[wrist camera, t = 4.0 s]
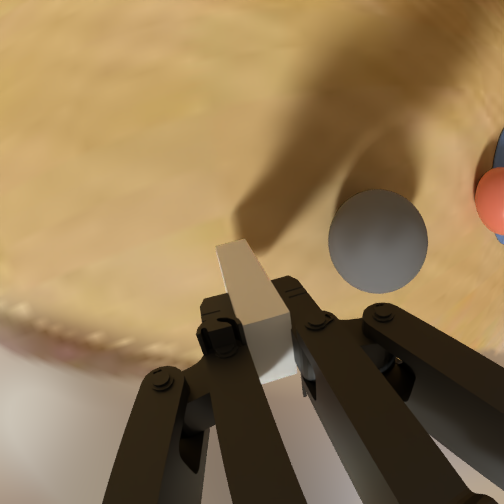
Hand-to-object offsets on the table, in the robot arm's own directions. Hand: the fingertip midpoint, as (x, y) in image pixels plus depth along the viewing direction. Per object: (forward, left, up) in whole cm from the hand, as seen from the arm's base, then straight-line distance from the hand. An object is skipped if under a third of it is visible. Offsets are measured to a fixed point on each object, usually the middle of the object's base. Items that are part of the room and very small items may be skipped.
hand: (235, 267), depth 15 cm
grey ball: (-7, 0, +1) cm, 8 cm away
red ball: (-21, 0, +1) cm, 22 cm away
